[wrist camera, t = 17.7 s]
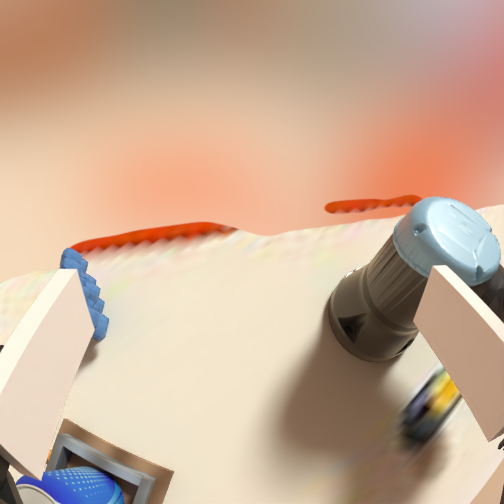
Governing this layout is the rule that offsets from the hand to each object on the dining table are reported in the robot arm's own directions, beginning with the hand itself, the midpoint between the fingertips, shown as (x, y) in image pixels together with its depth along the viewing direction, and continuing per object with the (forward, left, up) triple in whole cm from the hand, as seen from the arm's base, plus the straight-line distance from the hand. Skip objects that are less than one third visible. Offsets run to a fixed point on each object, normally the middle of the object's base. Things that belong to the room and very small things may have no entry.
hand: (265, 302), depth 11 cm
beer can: (+11, +20, -31) cm, 38 cm away
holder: (+11, +20, -32) cm, 39 cm away
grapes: (+22, -4, -32) cm, 39 cm away
